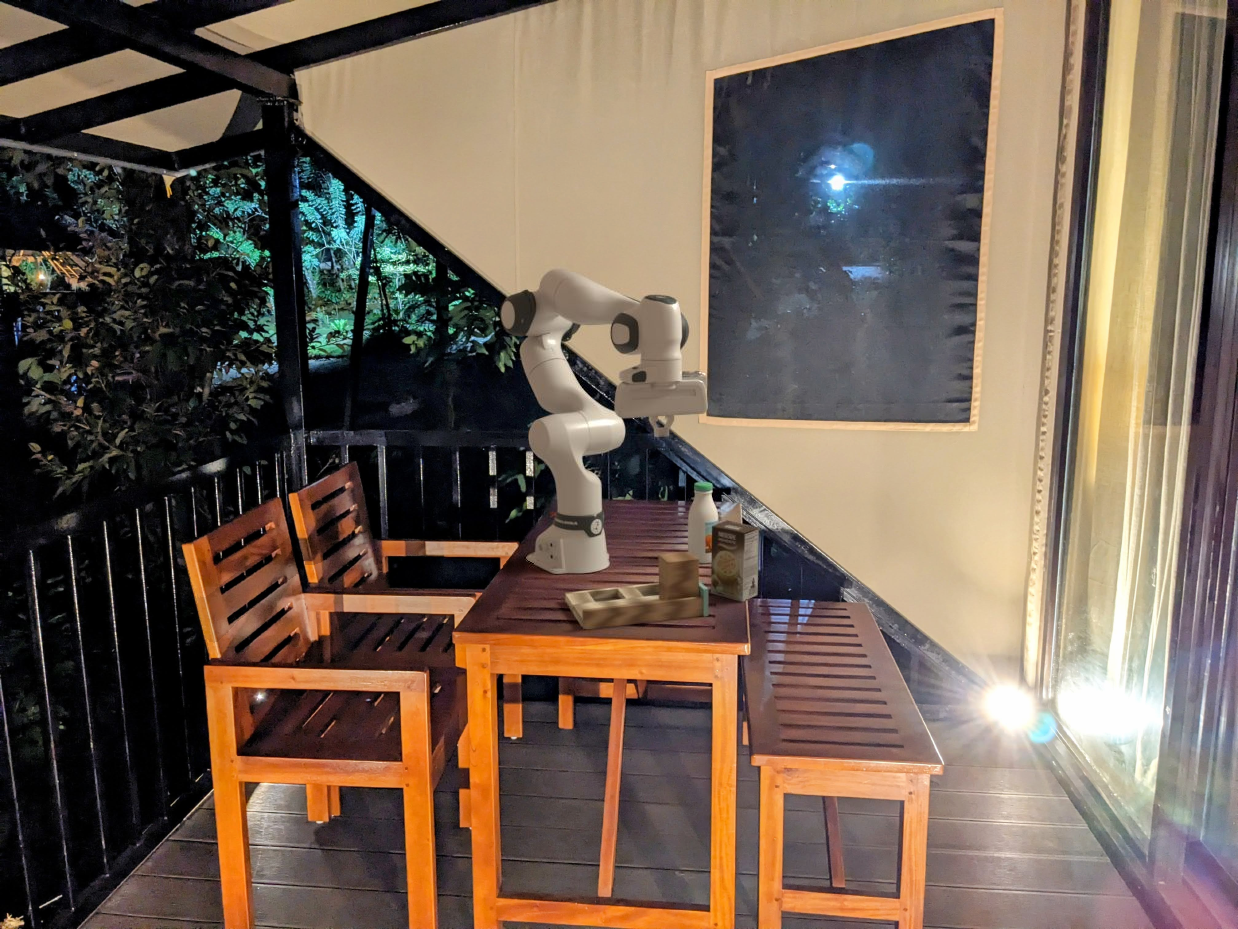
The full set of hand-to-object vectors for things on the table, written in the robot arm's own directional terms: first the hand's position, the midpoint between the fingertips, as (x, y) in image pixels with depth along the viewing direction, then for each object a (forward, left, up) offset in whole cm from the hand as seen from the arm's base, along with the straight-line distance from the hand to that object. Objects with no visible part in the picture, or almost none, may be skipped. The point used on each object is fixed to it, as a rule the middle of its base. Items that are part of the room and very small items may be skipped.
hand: (661, 436), depth 196 cm
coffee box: (+10, +13, -37) cm, 41 cm away
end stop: (+6, +3, -37) cm, 38 cm away
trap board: (-1, -9, -37) cm, 38 cm away
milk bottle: (-12, +29, -37) cm, 49 cm away
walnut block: (+7, -3, -35) cm, 36 cm away
